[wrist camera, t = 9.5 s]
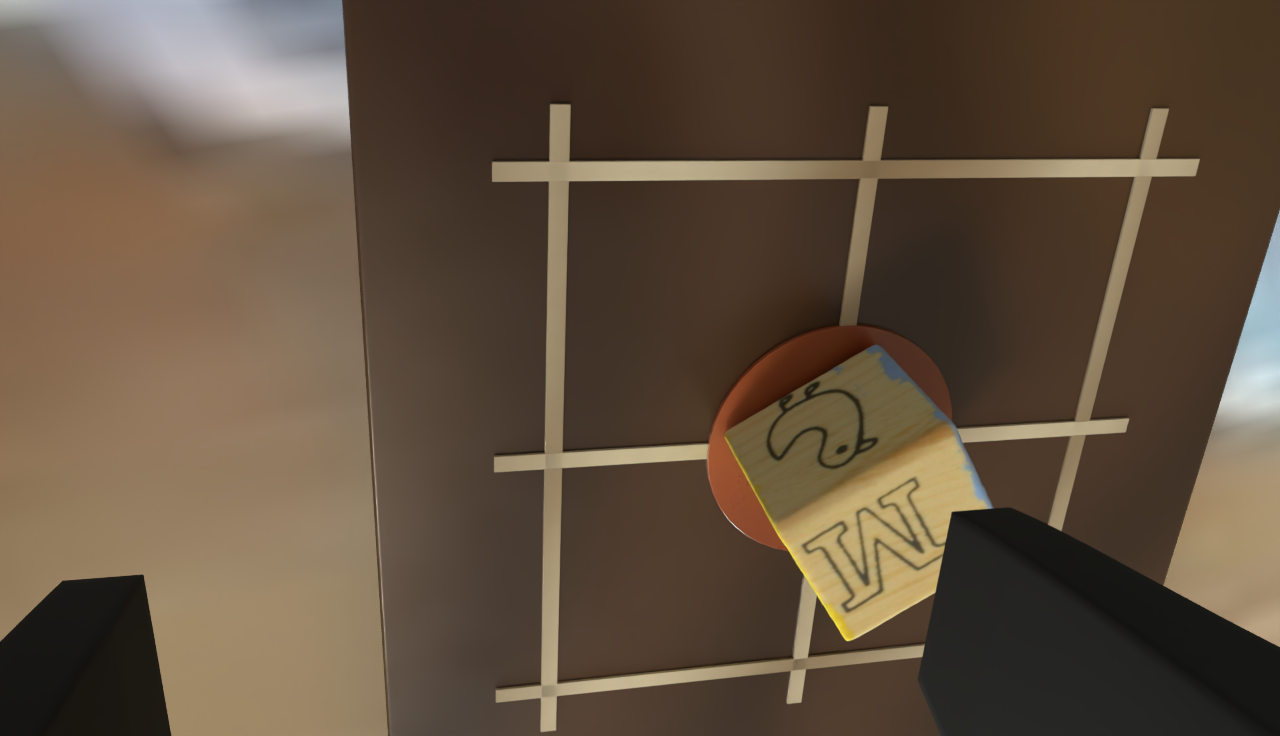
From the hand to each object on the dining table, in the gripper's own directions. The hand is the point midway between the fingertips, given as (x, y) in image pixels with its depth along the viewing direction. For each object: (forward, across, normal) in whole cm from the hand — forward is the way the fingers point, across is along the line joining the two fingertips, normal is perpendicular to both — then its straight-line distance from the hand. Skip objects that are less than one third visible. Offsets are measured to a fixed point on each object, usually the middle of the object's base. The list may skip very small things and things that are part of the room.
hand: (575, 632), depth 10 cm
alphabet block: (+8, -6, +3) cm, 11 cm away
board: (+9, -6, +3) cm, 12 cm away
